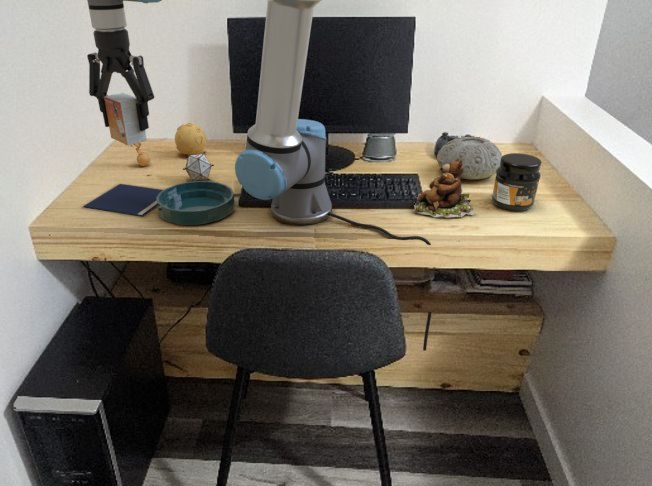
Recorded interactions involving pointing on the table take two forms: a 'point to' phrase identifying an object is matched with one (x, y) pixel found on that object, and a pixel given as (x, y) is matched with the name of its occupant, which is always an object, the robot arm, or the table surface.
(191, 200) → the bowl
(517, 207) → the supplement container
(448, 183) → the bear figurine
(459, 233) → the table surface
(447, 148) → the decorative shell
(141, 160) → the figurine
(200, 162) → the game die
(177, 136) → the stress ball
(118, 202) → the book
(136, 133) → the small box
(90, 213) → the table surface
